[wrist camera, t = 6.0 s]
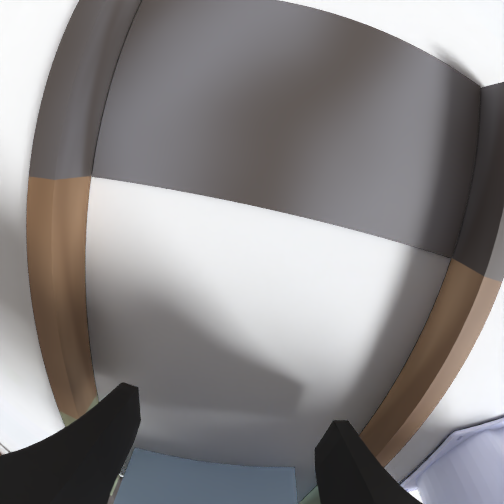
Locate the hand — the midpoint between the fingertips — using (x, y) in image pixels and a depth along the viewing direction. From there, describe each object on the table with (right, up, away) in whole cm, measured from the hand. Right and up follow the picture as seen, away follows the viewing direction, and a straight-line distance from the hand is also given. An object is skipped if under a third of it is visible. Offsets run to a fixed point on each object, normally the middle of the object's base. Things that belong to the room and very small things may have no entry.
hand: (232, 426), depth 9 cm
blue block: (-2, -8, +4) cm, 9 cm away
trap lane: (-1, -3, +3) cm, 4 cm away
